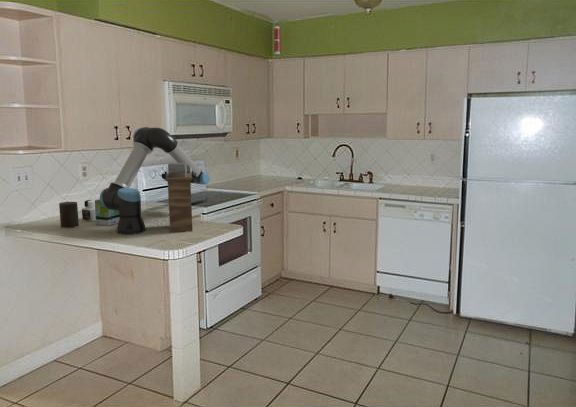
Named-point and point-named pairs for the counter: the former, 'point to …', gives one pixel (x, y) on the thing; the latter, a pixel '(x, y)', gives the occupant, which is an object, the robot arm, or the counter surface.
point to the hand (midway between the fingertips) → (179, 170)
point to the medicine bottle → (89, 211)
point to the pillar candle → (68, 214)
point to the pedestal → (180, 203)
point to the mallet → (177, 169)
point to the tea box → (105, 215)
